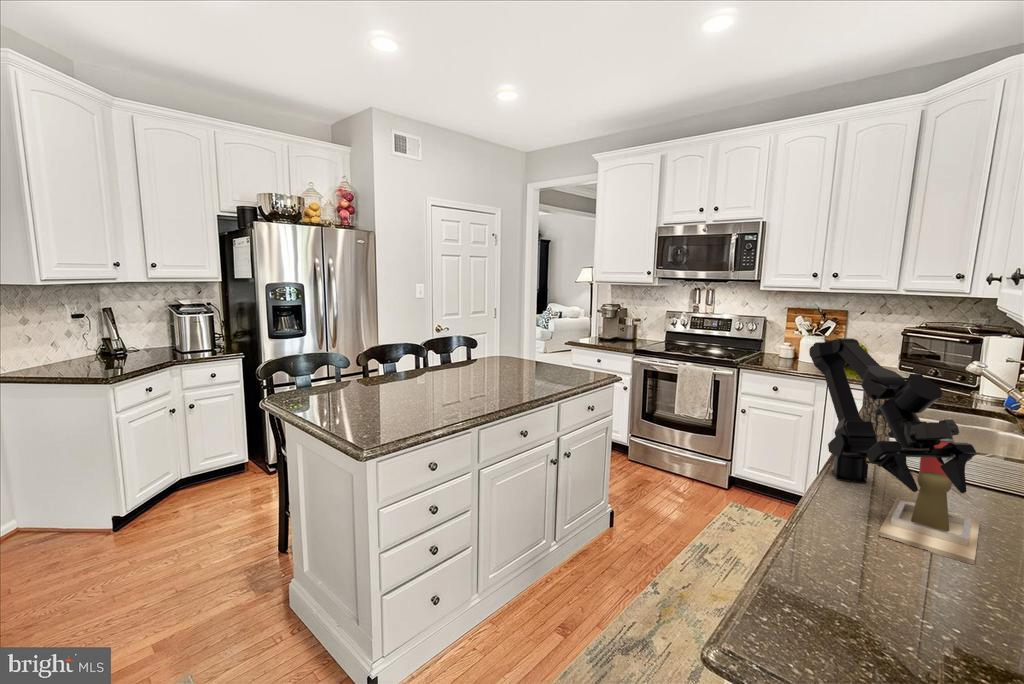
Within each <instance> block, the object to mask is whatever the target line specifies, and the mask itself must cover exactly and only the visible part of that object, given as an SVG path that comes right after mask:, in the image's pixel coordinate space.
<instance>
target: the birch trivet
mask: <svg viewBox="0 0 1024 684" xmlns="http://www.w3.org/2000/svg"><path fill="white" fill-rule="evenodd" d="M900 501H903V502H907V503H911V504H916V502H912V501H909V500H904V499H900V498H896V499H895V501H894V503H893V505H892V507H891V508H890V510H889V512H888V514H887V516H886V518H885V519H884V521H883V523H882V524H881V527H880V529H879V530H878V535H880V536H883V537H887V538H890V539H893V540H897V541H901V542H904V543H907V544H910V545H914V546H917V547H921V548H924V549H926V550H928V551H927V552H929V551H930V552H929V553H932V554H936V555H940V556H942V557H945V558H949V559H953V560H957V561H960V562H963V563H965V564H969V565H972V564H973V565H972V566H975V563H974V562H976V555H977V554H976V553H977V547H978V546H977V545H978V540H979V532H980V525H981V519H980V518H977V517H973V516H969V515H964V514H960V513H958V512H957V513H956V512H952V511H949V510H948V513H951V514H955V515H959V516H963V517H967V518H971V519H972V522H971V529H970V535H969V541H968V546H963V545H960V544H956V543H953V542H949V541H946V540H942V539H939V538H935V537H931V536H928V535H924V534H921V533H917V532H914V531H910V530H907V529H903V528H900V527H896V526H892V525H891V518H892V516H893V514H894V512H895V510H896V508H897V506H898V504H899V502H900ZM912 515H913V512H910V511H906V510H905V511H904V513H903V515H902V517H901V519H903V520H907V521H910V522H911V518H912ZM962 530H963V525H960V524H956V523H952V522H949V531H948V532H951V533H955V534H958V535H962ZM878 535H877V536H878Z"/></svg>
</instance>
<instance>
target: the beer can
mask: <svg viewBox="0 0 1024 684" xmlns="http://www.w3.org/2000/svg"><path fill="white" fill-rule="evenodd" d="M940 441H941V443H940V444H938V445H935V446H934V447H935V448H942V447H944V446H945V445H947V444H948V443H950V442H955V439H954V438H953V439H948V438H947V439H941V440H940ZM919 460H920V461H919V472H918V476H919V475H920V474H921V473H923V472H933V473H938V474H941V475H944V476H946V477H947V478H948V476H947V475H946V474H945V473H944V471H943V470H942V469H941V467H940V466H941V465H943V464H942V463H940V462H938V460H937V458H936V457H920V459H919ZM949 480H950V479H949ZM950 481H951V480H950ZM951 486H953V483H952V482H951Z"/></svg>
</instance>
